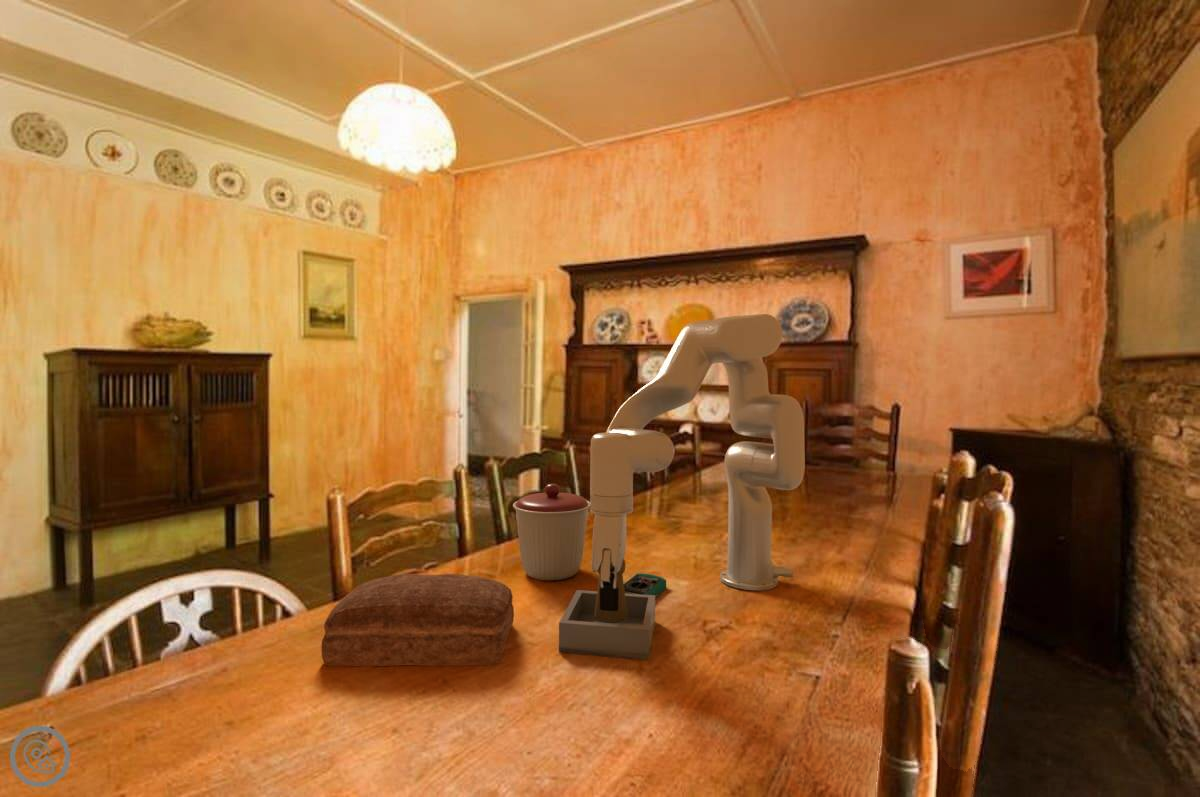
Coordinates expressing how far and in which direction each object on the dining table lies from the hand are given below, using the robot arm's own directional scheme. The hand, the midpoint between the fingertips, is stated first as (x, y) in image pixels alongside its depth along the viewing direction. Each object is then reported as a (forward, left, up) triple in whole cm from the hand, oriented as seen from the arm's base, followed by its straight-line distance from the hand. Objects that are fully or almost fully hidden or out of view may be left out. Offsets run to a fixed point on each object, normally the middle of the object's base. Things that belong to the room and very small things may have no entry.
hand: (610, 605), depth 102 cm
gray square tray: (0, 0, -5) cm, 5 cm away
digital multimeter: (-3, -20, -6) cm, 21 cm away
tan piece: (0, -1, -2) cm, 3 cm away
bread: (+31, +9, -6) cm, 33 cm away
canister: (+18, -30, -6) cm, 35 cm away
